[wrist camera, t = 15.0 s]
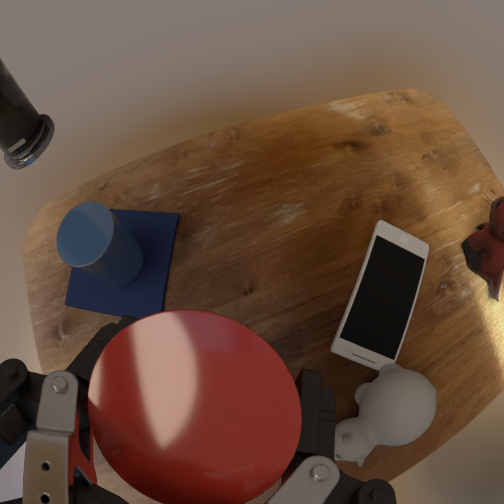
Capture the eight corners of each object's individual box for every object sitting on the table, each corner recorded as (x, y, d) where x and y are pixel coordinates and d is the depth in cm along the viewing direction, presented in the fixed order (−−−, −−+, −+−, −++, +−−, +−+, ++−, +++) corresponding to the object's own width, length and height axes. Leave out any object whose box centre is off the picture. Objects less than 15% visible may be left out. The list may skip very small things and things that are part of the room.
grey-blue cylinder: (89, 283, 30) (49, 262, 23) (101, 231, 32) (67, 200, 25) (137, 291, 30) (104, 271, 23) (148, 235, 32) (121, 202, 25)
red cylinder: (156, 432, 14) (86, 481, 6) (167, 324, 16) (99, 295, 8) (271, 447, 14) (287, 520, 6) (283, 336, 16) (311, 320, 8)
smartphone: (426, 247, 32) (430, 244, 31) (387, 374, 28) (390, 375, 27) (376, 221, 33) (379, 218, 32) (328, 350, 29) (330, 350, 28)
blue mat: (66, 305, 30) (64, 304, 30) (89, 209, 34) (88, 207, 33) (160, 323, 30) (159, 323, 29) (179, 214, 33) (178, 213, 33)
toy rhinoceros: (293, 415, 27) (301, 442, 19) (392, 351, 28) (431, 353, 20) (326, 466, 25) (342, 503, 17) (420, 403, 26) (462, 417, 18)
